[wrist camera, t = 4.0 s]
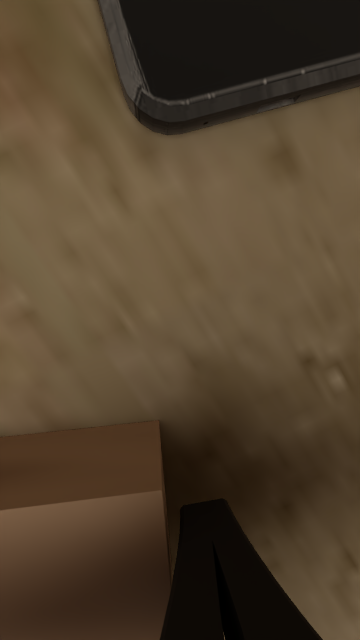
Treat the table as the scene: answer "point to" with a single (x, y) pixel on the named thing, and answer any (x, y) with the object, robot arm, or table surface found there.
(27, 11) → the table surface
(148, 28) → the phone
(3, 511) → the walnut tile
